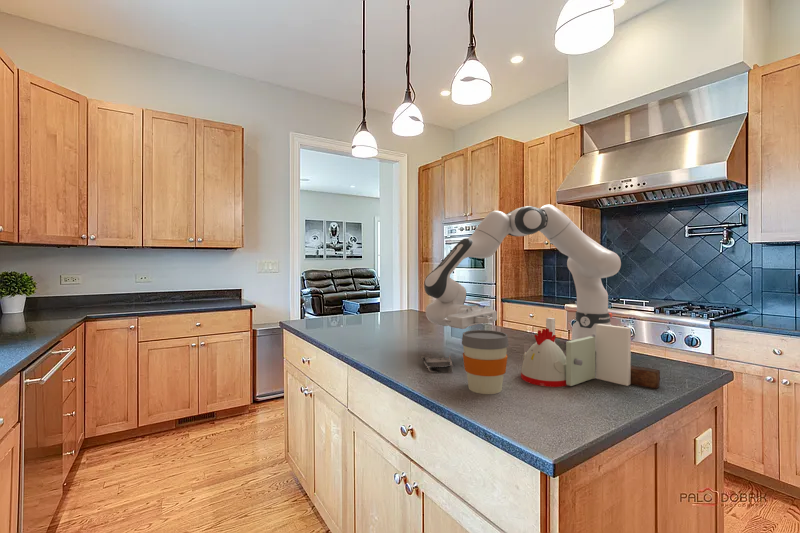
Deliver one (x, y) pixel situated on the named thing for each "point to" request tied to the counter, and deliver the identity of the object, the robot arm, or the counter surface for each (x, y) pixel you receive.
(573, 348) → the door
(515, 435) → the counter surface
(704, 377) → the counter surface
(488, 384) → the reusable coffee cup
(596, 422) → the counter surface
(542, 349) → the kitchen timer
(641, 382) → the brick
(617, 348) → the door frame
